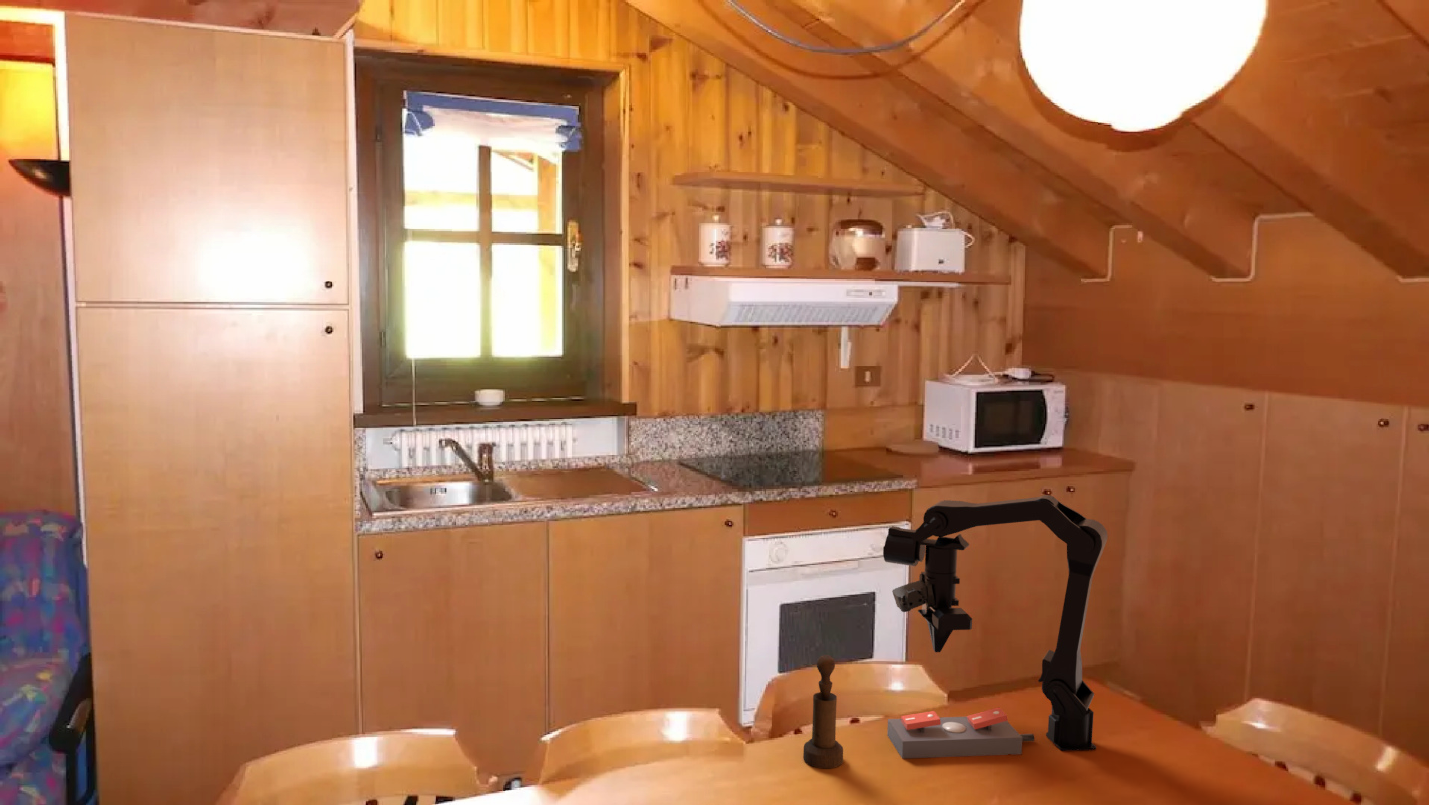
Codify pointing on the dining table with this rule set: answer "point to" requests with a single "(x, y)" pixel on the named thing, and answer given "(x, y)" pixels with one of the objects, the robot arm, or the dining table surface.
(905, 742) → the switch panel
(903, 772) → the dining table surface
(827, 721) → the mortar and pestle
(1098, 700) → the dining table surface
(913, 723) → the switch
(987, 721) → the switch
